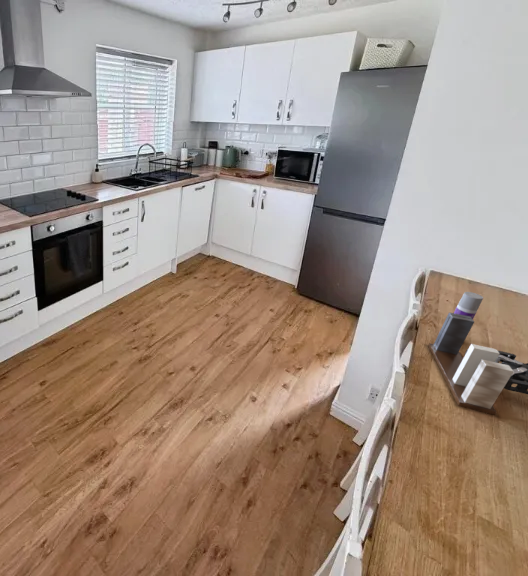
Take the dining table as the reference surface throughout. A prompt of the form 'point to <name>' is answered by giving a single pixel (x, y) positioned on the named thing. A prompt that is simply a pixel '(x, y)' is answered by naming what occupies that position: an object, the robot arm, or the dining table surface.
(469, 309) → the container
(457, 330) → the book rack
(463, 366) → the white book
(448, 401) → the dining table surface
